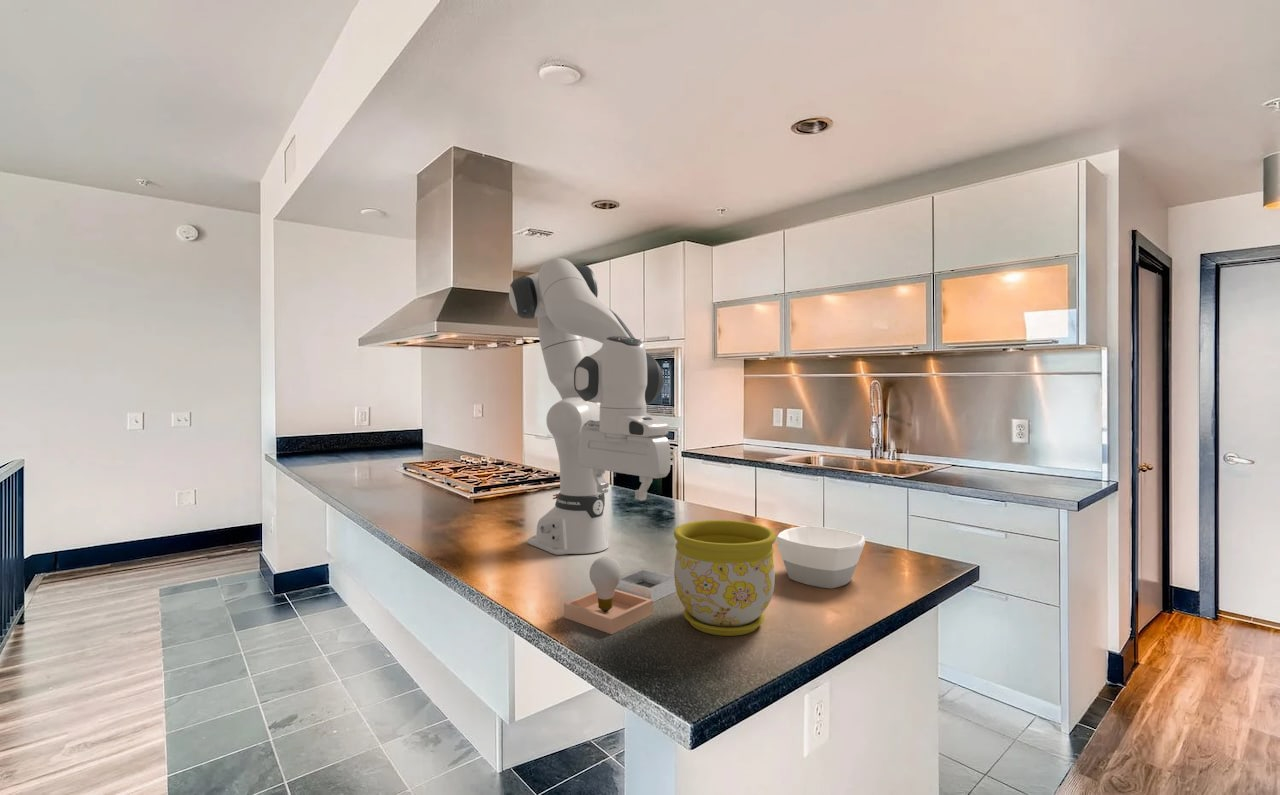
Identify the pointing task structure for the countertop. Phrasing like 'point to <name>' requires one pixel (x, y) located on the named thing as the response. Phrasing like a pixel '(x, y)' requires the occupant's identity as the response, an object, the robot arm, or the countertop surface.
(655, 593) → the socket collar
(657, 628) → the countertop surface
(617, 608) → the tray
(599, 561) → the light bulb
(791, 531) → the bowl
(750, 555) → the flowerpot
